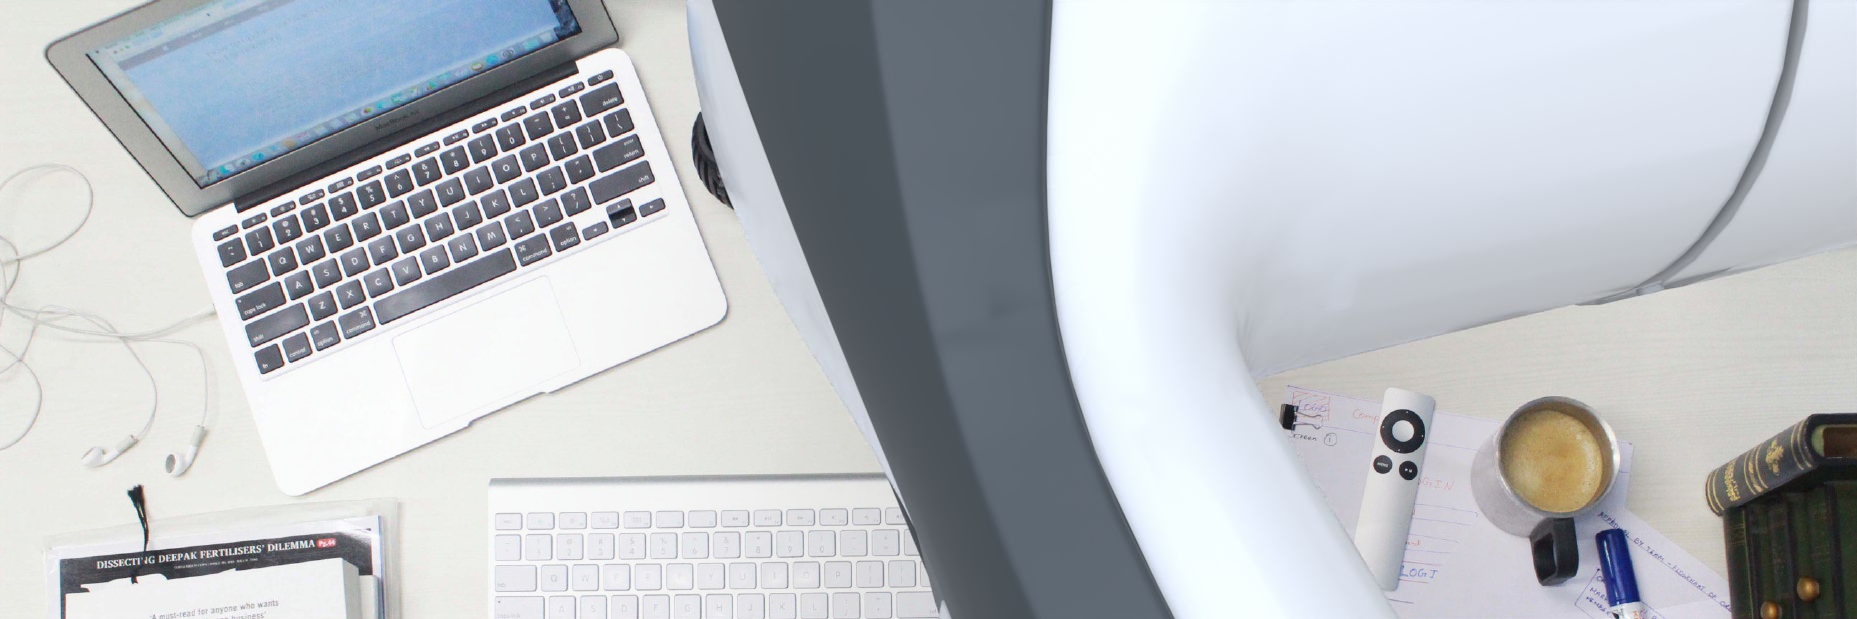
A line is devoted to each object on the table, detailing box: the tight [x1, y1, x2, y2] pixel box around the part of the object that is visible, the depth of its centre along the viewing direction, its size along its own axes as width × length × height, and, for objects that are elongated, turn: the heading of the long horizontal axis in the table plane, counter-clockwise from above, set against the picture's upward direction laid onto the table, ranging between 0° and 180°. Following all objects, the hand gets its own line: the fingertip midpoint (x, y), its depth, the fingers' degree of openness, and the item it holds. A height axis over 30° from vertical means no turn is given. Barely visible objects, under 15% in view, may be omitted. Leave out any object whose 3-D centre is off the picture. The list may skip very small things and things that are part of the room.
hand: (1152, 62), depth 38 cm, fingers open, 8 cm apart
